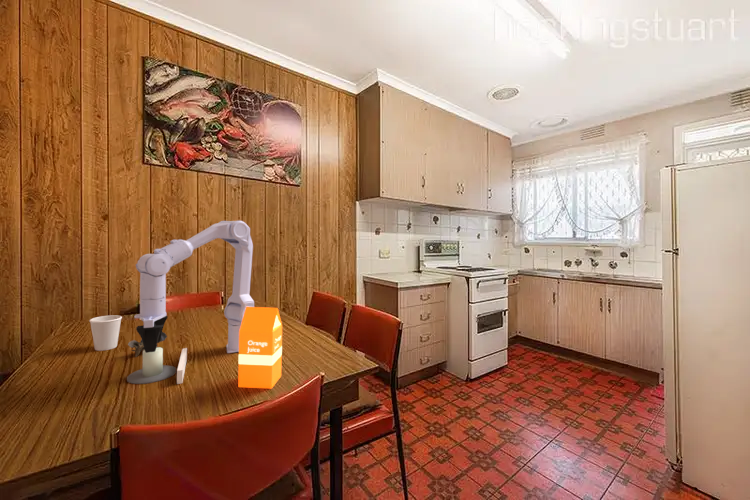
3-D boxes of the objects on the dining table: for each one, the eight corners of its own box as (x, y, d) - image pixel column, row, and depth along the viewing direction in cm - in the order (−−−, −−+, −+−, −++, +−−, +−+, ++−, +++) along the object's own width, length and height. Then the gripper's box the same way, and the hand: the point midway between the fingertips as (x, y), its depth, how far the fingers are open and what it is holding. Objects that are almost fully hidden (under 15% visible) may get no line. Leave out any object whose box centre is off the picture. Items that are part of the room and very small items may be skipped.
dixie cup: (126, 342, 110) (126, 314, 110) (115, 350, 102) (115, 320, 102) (97, 344, 108) (97, 315, 107) (83, 353, 100) (83, 322, 99)
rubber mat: (177, 364, 93) (177, 363, 93) (174, 379, 83) (174, 377, 83) (131, 370, 88) (131, 369, 88) (122, 387, 78) (122, 385, 78)
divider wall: (186, 359, 97) (187, 348, 97) (182, 383, 81) (182, 369, 81) (182, 359, 96) (182, 348, 96) (176, 384, 81) (177, 370, 80)
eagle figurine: (152, 354, 97) (172, 340, 106) (137, 336, 96) (159, 323, 105) (134, 365, 98) (156, 350, 107) (120, 347, 97) (143, 334, 106)
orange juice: (250, 374, 88) (252, 303, 87) (281, 375, 87) (283, 304, 87) (237, 387, 80) (238, 310, 79) (271, 388, 80) (273, 311, 79)
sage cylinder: (163, 368, 89) (163, 346, 88) (161, 375, 85) (161, 351, 84) (144, 371, 86) (144, 348, 86) (141, 378, 82) (141, 353, 82)
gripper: (140, 294, 89) (140, 341, 90) (128, 304, 77) (128, 358, 77) (169, 292, 93) (169, 338, 93) (163, 302, 80) (162, 354, 80)
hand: (152, 347), depth 85 cm, fingers open, 7 cm apart
